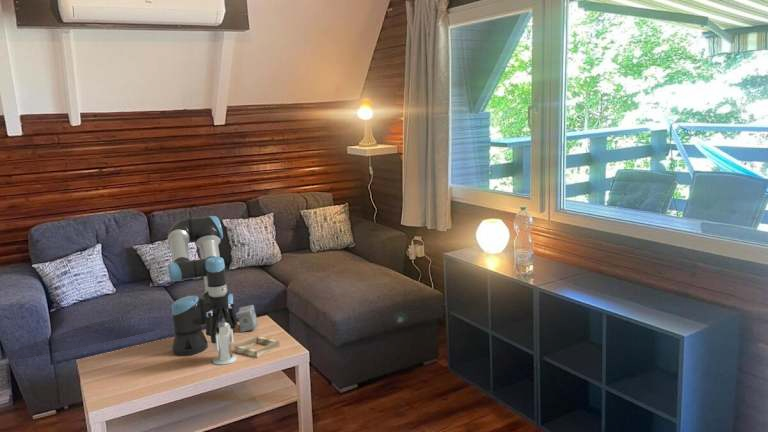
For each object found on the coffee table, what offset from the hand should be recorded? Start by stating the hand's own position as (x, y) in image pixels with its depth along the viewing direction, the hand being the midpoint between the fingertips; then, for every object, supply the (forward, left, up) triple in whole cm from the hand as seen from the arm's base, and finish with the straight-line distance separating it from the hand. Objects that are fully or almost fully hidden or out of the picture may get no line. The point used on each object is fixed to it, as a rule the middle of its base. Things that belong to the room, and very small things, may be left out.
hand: (223, 346), depth 259 cm
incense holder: (-19, +31, -7) cm, 37 cm away
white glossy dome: (0, 0, -6) cm, 6 cm away
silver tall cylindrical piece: (0, 0, -6) cm, 6 cm away
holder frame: (+4, +15, -6) cm, 17 cm away
